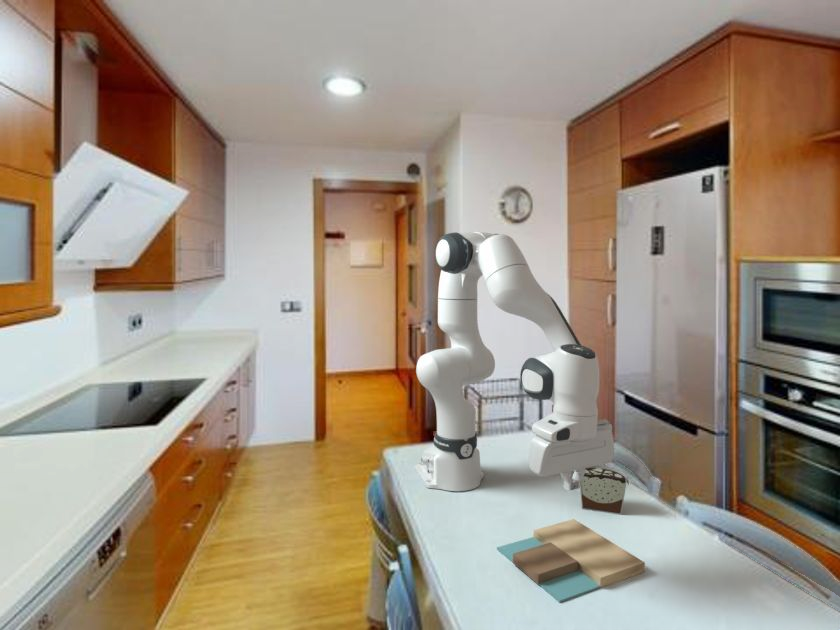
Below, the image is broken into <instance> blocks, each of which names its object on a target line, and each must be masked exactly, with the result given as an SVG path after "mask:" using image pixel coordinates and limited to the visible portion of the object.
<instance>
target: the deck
mask: <svg viewBox="0 0 840 630" xmlns="http://www.w3.org/2000/svg"><path fill="white" fill-rule="evenodd" d="M532 531H533V536H532V537H534V538H535V539H537V540H538V541H540V542H541V543H542V544H547V543H550V542H551V543H552V544H554V545H555V546H557V547H558V548H560V549H561V550H562V551H564V552H565V553H567V554H568V555H570V556H571V557H572V558H574V559H575V560H577V561H578V570H579V571H581V572H582V573H583V574H585V575H586V576H587V577H589V578H590V579H592V580H593V581H594V582H596V583H597V584H598V585H600V588H599V589H601V588H605V587H606V586H609V585H612V584H615V583H617V582H620V581H623V580H625V579H628V578H631V577H633V576H637V575H641V573H644V572H645V567H646V566H645V564H646V563H645V561H643V560H641V559H640V558H638V557H637V556H635V555H634V554H632V553H630V552H629V551H627V550H625V549H623V548H622V547H620V546H619V545H617V544H616V543H614V542H612V541H611V540H609V539H607V538H605V537H604V536H603V535H601V534H599V533H598V532H596V531H595V530H593V529H591V528H590V527H588V526H586V525H584V524H583V523H581V521H578V520H577V519H574V518H573V519H568V520H565V521H562V522H559V523H555V524H551V525H547V526H544V527H541V528H536V529H533V530H532Z"/></svg>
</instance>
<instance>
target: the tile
mask: <svg viewBox="0 0 840 630" xmlns="http://www.w3.org/2000/svg"><path fill="white" fill-rule="evenodd" d="M512 564H513V565H515V566H516V567H517V568H518V569H519V570H520V571H521V572H523V573H524V574H525V575H527V576H528V578H530V579H531V580H532V581H534V582H535V583H536V584H537V585H538V584H541V583H544V582H546V581H549V580H552V579H555V578H558V577H561V576H564V575H567V574H570V573H573V572H576V571H578V561H577V560H575V559H574V558H572V557H571V556H570V555H568V554H567V553H565V552H564V551H562V550H561V549H560V548H558V547H557V546H555V545H554V544H552V543H551V542H550V543H547V544H544V545H540V546H537V547H534V548H530V549H527V550H524V551H520V552H517V553H514V554H513V563H512Z"/></svg>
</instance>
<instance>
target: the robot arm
mask: <svg viewBox="0 0 840 630" xmlns="http://www.w3.org/2000/svg"><path fill="white" fill-rule="evenodd" d="M434 256H435V262H436V265H437V266H438V268H439V269H440V273H439V274H440V275H439V279H438V291H437V325H438V327H439V329H440V330H441V331H442V332H444V333H445V334H447V335H448V337H449V340H450V348H449V347H447V348H440V349H434V350H432V351H429V352H426V353H424V354H422V355H420V357H419V358H418V360H417V362H416V369H415V373H416V377H417V380H418V381H419V383H420V384H421V386H423V388H425V389H426V390H428V391H429V393H430V394H431V397H432V399H433V400H434V401H433V402H434V405H435V411H436V431H434V433H433V436H434V438H433V443H432V444H431V445H430V446H428V447H427V448H426V449H425V450H423V452H422V457H421V458H420V463H417V464H415V465H414V467H413V468H414V471H415V473H416V474H417V476H418V477H419V479H420V480H421V481H422V484H423V485H424V486H425V487H426V488H428V489H437V490H438V489H439V490H444V491H448V492H449V491H450V492H465V491H470V490H474V489H476V488H478V487H479V486H480V485H481V483H482V481H481V480H483V478H484V477H485V473H484V472H483V471H481V470H482V469H481V468H482V467H481V455H480V454H481V453H480V450H479V449H478V448H477V446H478V435H477V432H476V416H477V415H476V407H475V405H474V403H472V402H471V401H470V400H468V399H467V398H465V396H464V392H463V390H464V389H463V387H464V386H466V385H467V386H468V385H471V384H478V383H480V382H482V381H485V380H486V379H488V378H490V377H491V376H492V375H493V374H494V372H495V368H496V360H495V357H494V355H493V352H492V351H491V350H490V349H489V348H488V347H487V346H486V345H485V343H484V342H483V339H482V337H481V334H480V331H479V330H480V329H479V323H478V321H479V320H478V282H479V280H480V278H481V277H482V276H483V277H482V278H483V280H484V283H485V285H486V289H487V292H488V294H489V296H490V298H491V301H492V302H493V303H494V304H495V306H496V307H497V308H498V309H500V310H501V311H503V312H505V313H508V314H511V315H514V316H518V317H521V318H524V319H526V320H529V321H530V322H532V323H534V324H536V325H537V326H538V327H540V329H541V330H542V331H543V333H544V334H545V336H546V338H547V341H549V342H548V343H549V344H550V346H551V348H552V349H553V351H552V352H549V353H545V354H540V355H537V356H532V357H528V358H527V359H526V360H525V361H524V363H523V364H522V366H521V370H520V374H519V375H520V377H519V378H520V386H521V388H522V389H523V391H524V392H525V394H526V395H527V396H529V397H530V398H532V399H533V400H540V401H541V400H542V401H551V402H552V403H553V404H554V406H553V413H552V412H551V413H549V414H548V415H546V416H544V417H543V418H542V419H539V420H537V421H536V422H534V423H533V424H532V427H531V430H532V431H531V432H532V434H534V436H533V437H532V439H531V441H530V446H529V456H528V465H529V469H530V470H531V472H532V473H533V474H535V475H537V476H539V477H540V478H545V477H546V478H547V477H550V476H554V475H555V476H556V475H559V474H560V475H559V476H561V479H562V481H563V488H564V490H566V491H567V492H568V491H569V492H570V491H574V490H578V489H580V481H581V480H582V478H583V476H584V474H585V468H588V467H593V466H598V465H601V466H603V465H606V464H610V463H612V461H613V460H614V458H615V442H614V441H615V440H614V435H613V425H612V424H611V422H610V421H608V419H604V418H603V419H600V420H599V419H598V417H599V416H598V415H599V410H598V406H597V398H598V395H599V393H600V363H599V359H598V356H597V353H596V352H595V351H594V350H593V349H591V348H589V347H587V346H585V345H582V344H581V342H580V341H579V339H578V338H577V336H576V334H575V332H574V331H573V329H572V327H571V325H570V324H569V322H568V320H567V318H566V317H565V314H564V313H563V311H562V310H561V308H560V306H559V305H558V304H557V302H556V301H555V299H554V298H553V297H552V296H551V295H550V294H549V293H548V292H546V291H545V290H544V289H543V288H542V286H541V285H540V283H539V282H538V281H537V279H536V278H535V276H534V275H533V273H532V270H531V269H530V266H529V264H528V262H527V260H526V258H525V256H524V253H523V252H522V250H521V248H520V247H519V245H518V243H516V241H515V240H514V238H512V237H511V236H509V235H507V234H503V233H501V234H500V233H488V232H481V231H474V232H451V233H450V232H449V233H446V234H443V235H442V236H441V237H440V238H439V239H438V241H437V243H436V246H435V250H434ZM553 404H552V405H553ZM571 476H572V477H571Z"/></svg>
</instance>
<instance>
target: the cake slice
mask: <svg viewBox="0 0 840 630" xmlns="http://www.w3.org/2000/svg"><path fill="white" fill-rule="evenodd" d="M627 484H628V486H629V484H630V482H629V478H628V476H627V473H625V472H623V471H622V470H620V469H618V468H616V467H615V468H614V467H612V466H607V465H598V466H593V467H588V468H585V474H584V476H583V478H582V480H581V481H580V488H579V489H580V501H581V509H582V510H585V511H586V510H587V511H591V510H592V512H598V513H604V514H605V513H607V514H612V515H620V516H621V515H622V514H623V513H622V512H623V508H624V507H623V506H624V502H625V495H626V487H627Z"/></svg>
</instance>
